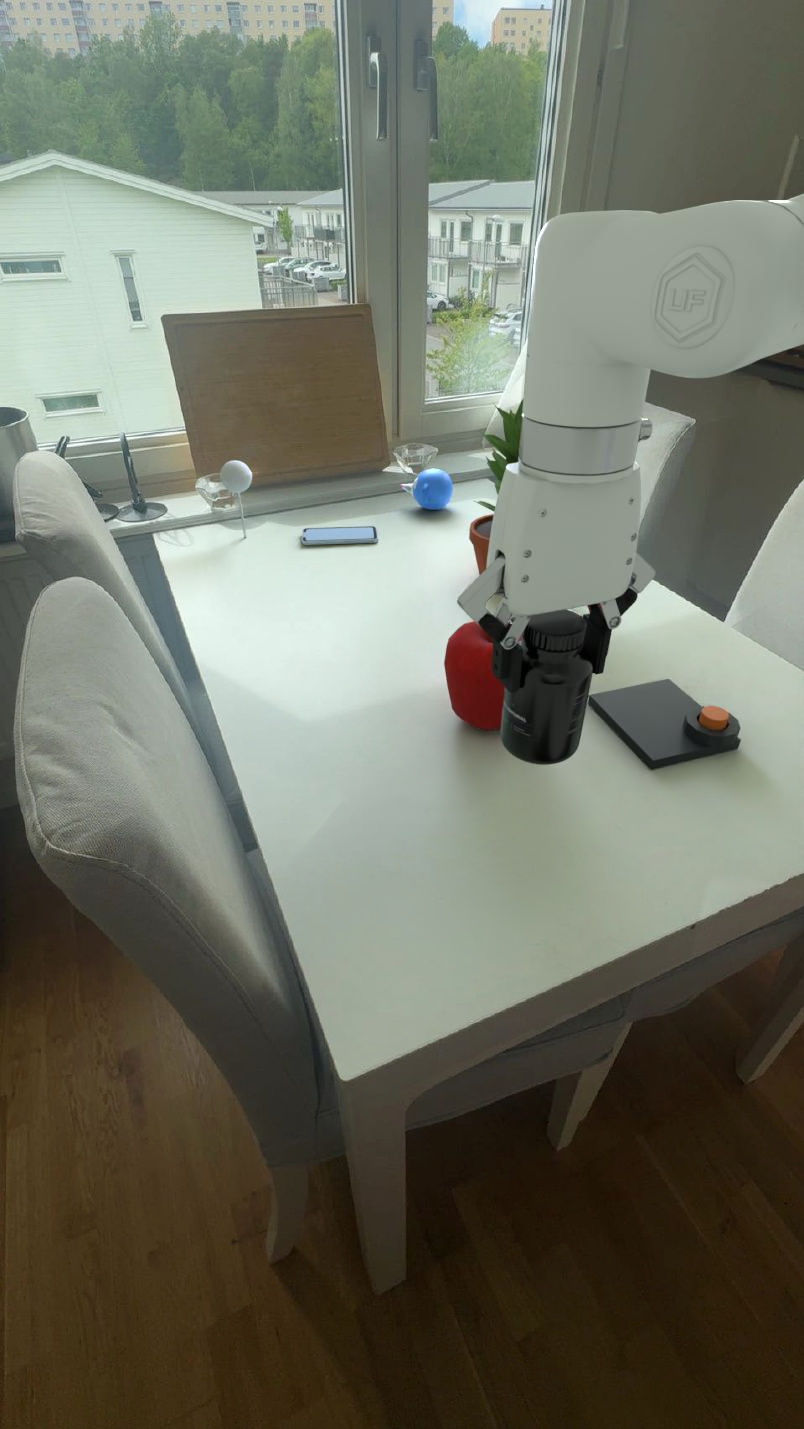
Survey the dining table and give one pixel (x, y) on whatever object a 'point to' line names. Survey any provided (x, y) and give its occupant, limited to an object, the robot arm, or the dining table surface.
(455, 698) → the apple
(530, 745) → the supplement bottle
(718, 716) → the button
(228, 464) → the lollipop
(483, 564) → the potted plant
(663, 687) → the scale
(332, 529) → the smartphone
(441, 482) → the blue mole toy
